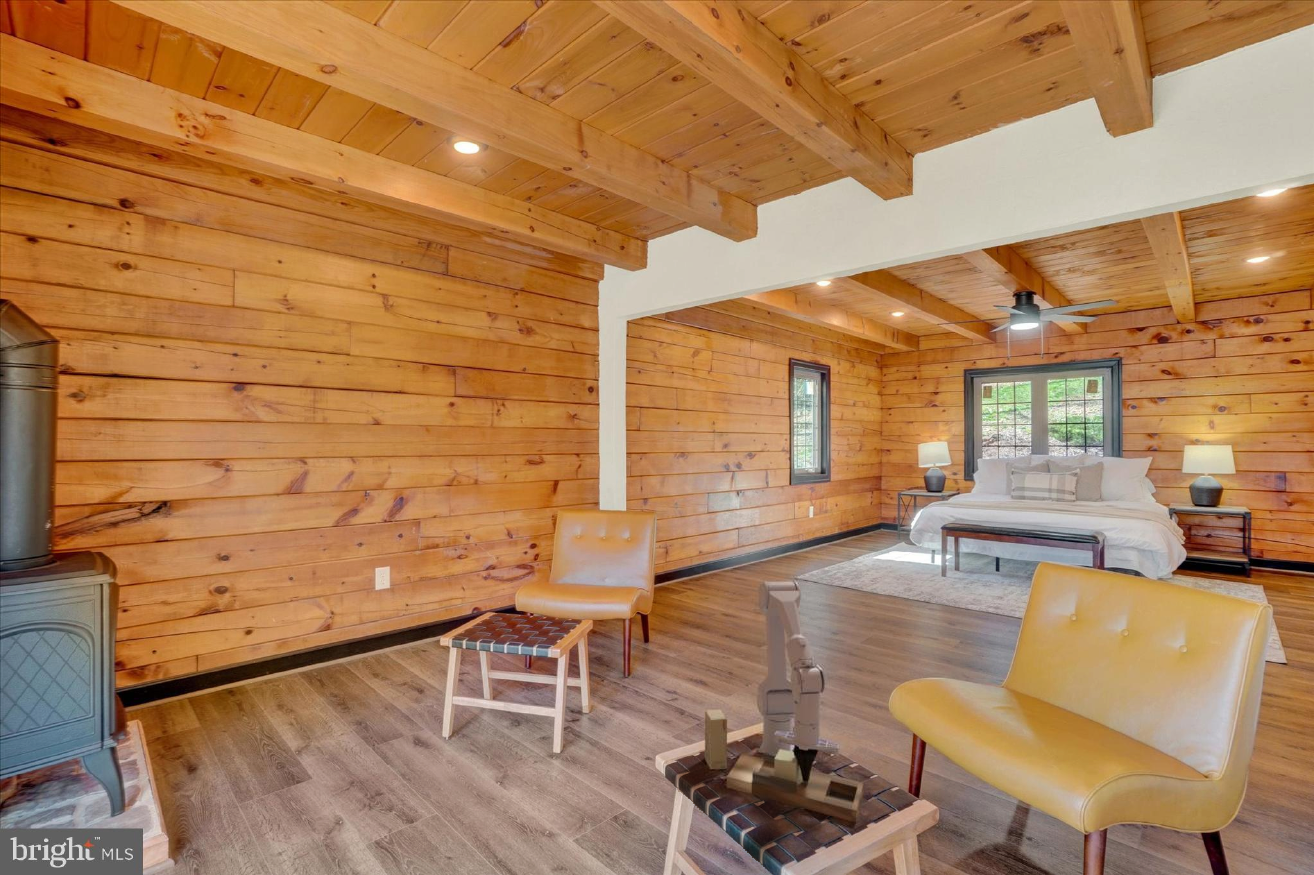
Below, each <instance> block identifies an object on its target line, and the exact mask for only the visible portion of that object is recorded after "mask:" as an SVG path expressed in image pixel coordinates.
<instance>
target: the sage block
mask: <svg viewBox="0 0 1314 875" xmlns="http://www.w3.org/2000/svg"><path fill="white" fill-rule="evenodd" d="M800 776H801V770H800V767H799V764H798V761H797V759H796V757H795V756H794V752H793V751H792V752H790V751H786V750H781V749H780V750H779V752H778V753H777V755H776V757H775V759H774V777H778V778H782V779H786V780H790V781H794V782H797V783H798V780H799V778H800Z"/></svg>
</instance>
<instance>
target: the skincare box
mask: <svg viewBox="0 0 1314 875" xmlns="http://www.w3.org/2000/svg"><path fill="white" fill-rule="evenodd" d="M704 715H705V716H704V759H705V762H706V764H707V766H708V768H709V767H710V768H709V769H710V770H711V769H715V770H724V769H725V770H726V769H728V717H727V716H726V714H725V713H724V712H723V710H722V709H706V710H705V711H704Z"/></svg>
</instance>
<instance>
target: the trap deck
mask: <svg viewBox="0 0 1314 875" xmlns="http://www.w3.org/2000/svg"><path fill="white" fill-rule="evenodd" d="M763 757H764V758H762V757H760V756H759V757H758V756H755V755H754V756H753V755H750V754H747V753H741V754H740V756H739V758H738V759H737V760H736V762H735V764H734V765H733V767H732V768H731V769H730V771H729V772H728V774H727V775H726V788H727V789H731V790H734V791H740V792H741V793H746V794H750V795H754V796H756V797H757V796H758V797H760V798H761V797H762V798H765V799H769V800H772V801H775V802H779V803H783V804H787V805H790V806H794V807H797V808H801V809H805V810H809V811H812V812H816V813H818V814H819V813H820V814H824V815H828V816H831V817H835V818H839V819H842V820H846V821H849V822H852V823H853V822H854V823H857V822H858V821H857V820H858V818H859V814H860V810H861V805H862V802H861V801H863V797H864V784H865V783H864V782H860V781H857V780H853V779H849V778H844V777H841V776H836V775H832V774H828V773H824V772H820V771H815V770H812V769H811V771H810V778H809V781H808V782H805V781H803V780H802V774H801V776H800V778H799V780H798V783H797V782H794V781H790V780H786V779H782V778H778V777H774V759H775V757H776V754H772V753H768V752H765V753H763Z"/></svg>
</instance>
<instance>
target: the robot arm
mask: <svg viewBox="0 0 1314 875" xmlns="http://www.w3.org/2000/svg"><path fill="white" fill-rule="evenodd" d="M757 592H758V607H759V611H760V612H762V613H764V616H765V632H766V653H767V654H766V656H767V676H766V677H765V678H764V679H762V680H761V681H760V682H759V683H758V686H757V694H756V704H757V709H758V710H757V711H758V712H759V713H760V715H761V716H762V717H763V722H762V724H763V725H762V726H763V727H762V728H763V730H762V731H763V732H762V743H761V745H760V747H759V748H758V750H757V753H760V754H764V753H765V752H768V753H772V754H776V755H777V753H778V752H779V750H780V749H781V750H786V751H790V752H794V756H795V757H796V759H797V761H798V764H799V767H800V770H801V774H802V780H803V781H805V782H808V781H809V778H810V771H811V770H812V767H813V765H814V762H815V759H816V758H817V756H818V753H819V752H822V753H827V754H831V755H833V756H834V757H836V758H837V757H838V758H839V756H840V749H841V747H840V746H841V745H840V744H839V743H835V742H833V741H830V740H828V739H825V738H822V737H820V731H821V730H820V723H821V720H820V718H821V694H822V693H824V691H825V686H826V680H825V675H824V671H823V669H822V668H821V666H820V665H819V663H818V662H817V661H816V660H815V658H814V654H813V650H812V648H811V643H810V642H809V639H808V638H806V637H805V636H804V635H803V630H802V627H801V621H800V616H799V612H798V609H799V606H800V603H801V598H802V594H801V588H800V585H799V583H798V582H797V581H796V580H792V581H765V580H764V581H763V580H762V581H761V582H760V584H759V587H758V591H757ZM786 637H787V641H786ZM786 653H787V655H786ZM786 656H787V657H788V661H789V665H790V668H791V674H790V678H788V677H787V659H786V658H787V657H786Z"/></svg>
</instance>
